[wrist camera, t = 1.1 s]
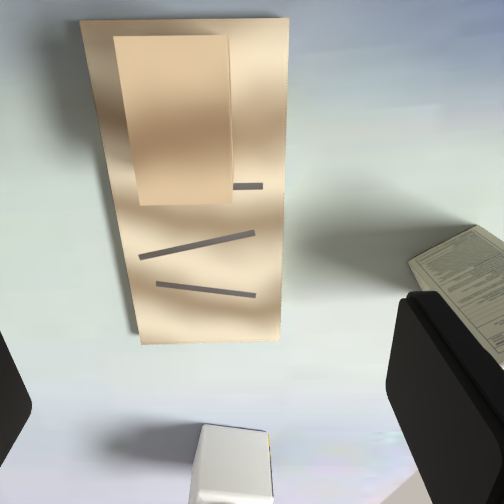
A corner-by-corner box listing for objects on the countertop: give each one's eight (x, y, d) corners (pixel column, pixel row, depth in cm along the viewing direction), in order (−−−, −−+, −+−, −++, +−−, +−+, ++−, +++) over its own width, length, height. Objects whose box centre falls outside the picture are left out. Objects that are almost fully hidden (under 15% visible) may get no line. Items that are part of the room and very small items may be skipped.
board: (86, 21, 23) (78, 20, 22) (286, 19, 23) (289, 17, 22) (144, 335, 34) (141, 344, 33) (278, 331, 34) (280, 341, 33)
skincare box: (424, 296, 33) (513, 415, 22) (404, 258, 31) (491, 368, 20) (496, 261, 31) (629, 370, 21) (480, 219, 30) (617, 315, 19)
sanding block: (143, 39, 22) (113, 36, 17) (229, 38, 22) (225, 34, 17) (160, 173, 26) (139, 205, 21) (233, 172, 26) (232, 203, 21)
